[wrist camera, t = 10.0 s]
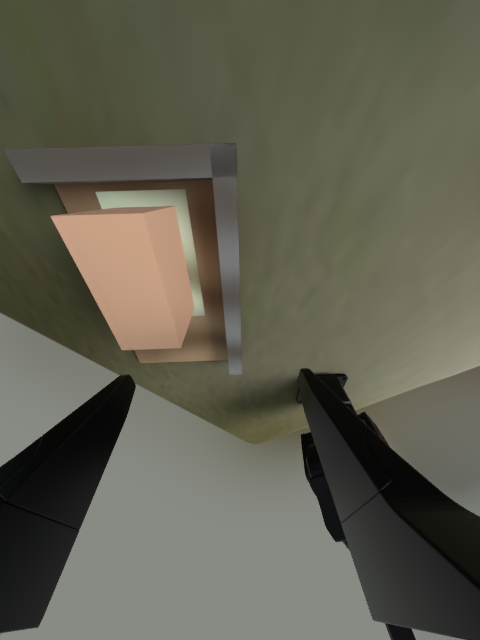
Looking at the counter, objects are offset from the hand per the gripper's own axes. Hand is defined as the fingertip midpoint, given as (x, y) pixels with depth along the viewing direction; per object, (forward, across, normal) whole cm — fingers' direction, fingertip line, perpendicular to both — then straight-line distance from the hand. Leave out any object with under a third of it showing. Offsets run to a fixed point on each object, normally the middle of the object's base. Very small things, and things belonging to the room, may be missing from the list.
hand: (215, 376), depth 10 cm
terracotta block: (+10, +6, -3) cm, 12 cm away
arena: (+11, +5, -1) cm, 12 cm away
